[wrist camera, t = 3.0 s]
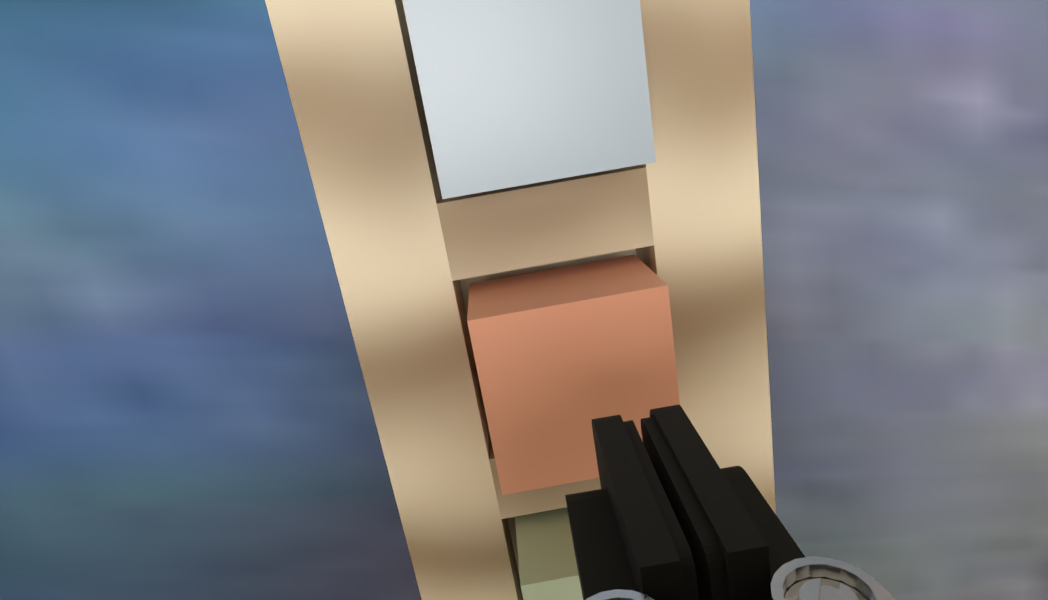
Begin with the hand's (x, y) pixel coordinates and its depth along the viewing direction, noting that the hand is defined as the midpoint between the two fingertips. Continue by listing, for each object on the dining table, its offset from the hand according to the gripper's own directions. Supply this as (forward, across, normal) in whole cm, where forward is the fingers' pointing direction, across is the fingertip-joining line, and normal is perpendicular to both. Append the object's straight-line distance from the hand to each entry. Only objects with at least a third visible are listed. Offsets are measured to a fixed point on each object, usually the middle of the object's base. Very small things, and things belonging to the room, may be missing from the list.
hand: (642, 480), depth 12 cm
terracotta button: (+8, +1, 0) cm, 8 cm away
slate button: (+8, +1, -8) cm, 11 cm away
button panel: (+10, +1, 0) cm, 11 cm away
